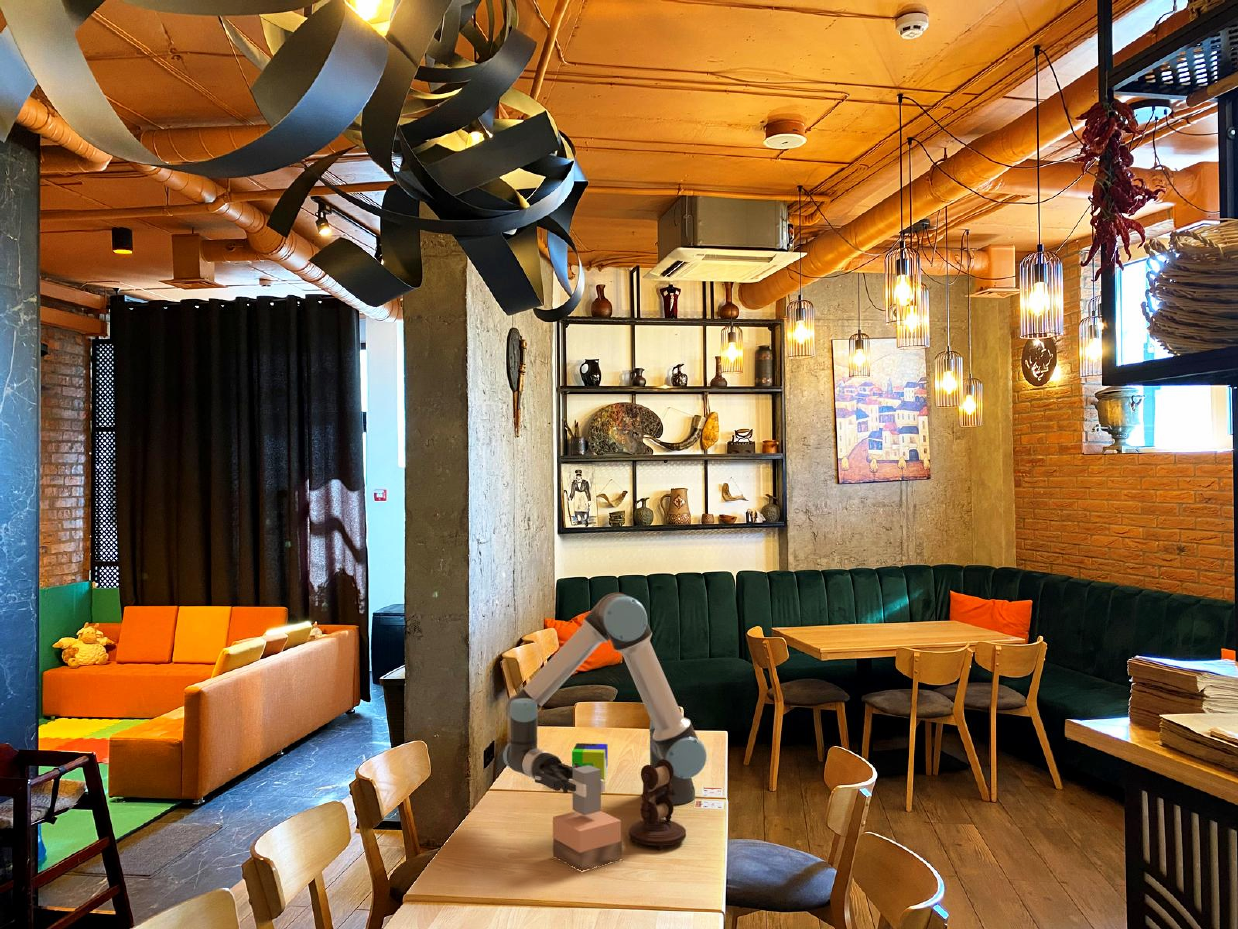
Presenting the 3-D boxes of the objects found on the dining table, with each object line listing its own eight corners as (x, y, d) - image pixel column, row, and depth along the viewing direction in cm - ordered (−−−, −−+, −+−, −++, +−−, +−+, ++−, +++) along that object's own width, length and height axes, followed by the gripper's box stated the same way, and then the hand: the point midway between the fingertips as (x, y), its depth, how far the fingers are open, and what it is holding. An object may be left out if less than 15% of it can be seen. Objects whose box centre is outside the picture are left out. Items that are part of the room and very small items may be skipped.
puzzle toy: (607, 775, 283) (607, 744, 284) (603, 785, 273) (603, 752, 274) (576, 774, 284) (576, 743, 285) (572, 784, 274) (572, 751, 275)
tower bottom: (592, 847, 225) (592, 827, 225) (621, 861, 215) (621, 841, 216) (553, 858, 217) (553, 838, 218) (581, 874, 208) (581, 853, 208)
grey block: (589, 805, 221) (589, 765, 221) (600, 811, 217) (600, 769, 217) (572, 809, 218) (572, 768, 218) (584, 815, 214) (584, 773, 214)
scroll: (651, 826, 238) (651, 751, 239) (697, 839, 229) (696, 761, 230) (617, 842, 227) (617, 763, 228) (663, 856, 218) (663, 774, 218)
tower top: (592, 827, 225) (592, 807, 225) (620, 841, 215) (620, 820, 215) (552, 837, 218) (552, 817, 218) (580, 853, 208) (580, 831, 208)
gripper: (570, 774, 239) (623, 797, 220) (513, 787, 228) (563, 812, 209) (570, 746, 239) (623, 766, 221) (513, 758, 228) (563, 780, 210)
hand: (594, 788), depth 215 cm, fingers closed on grey block, 5 cm apart
